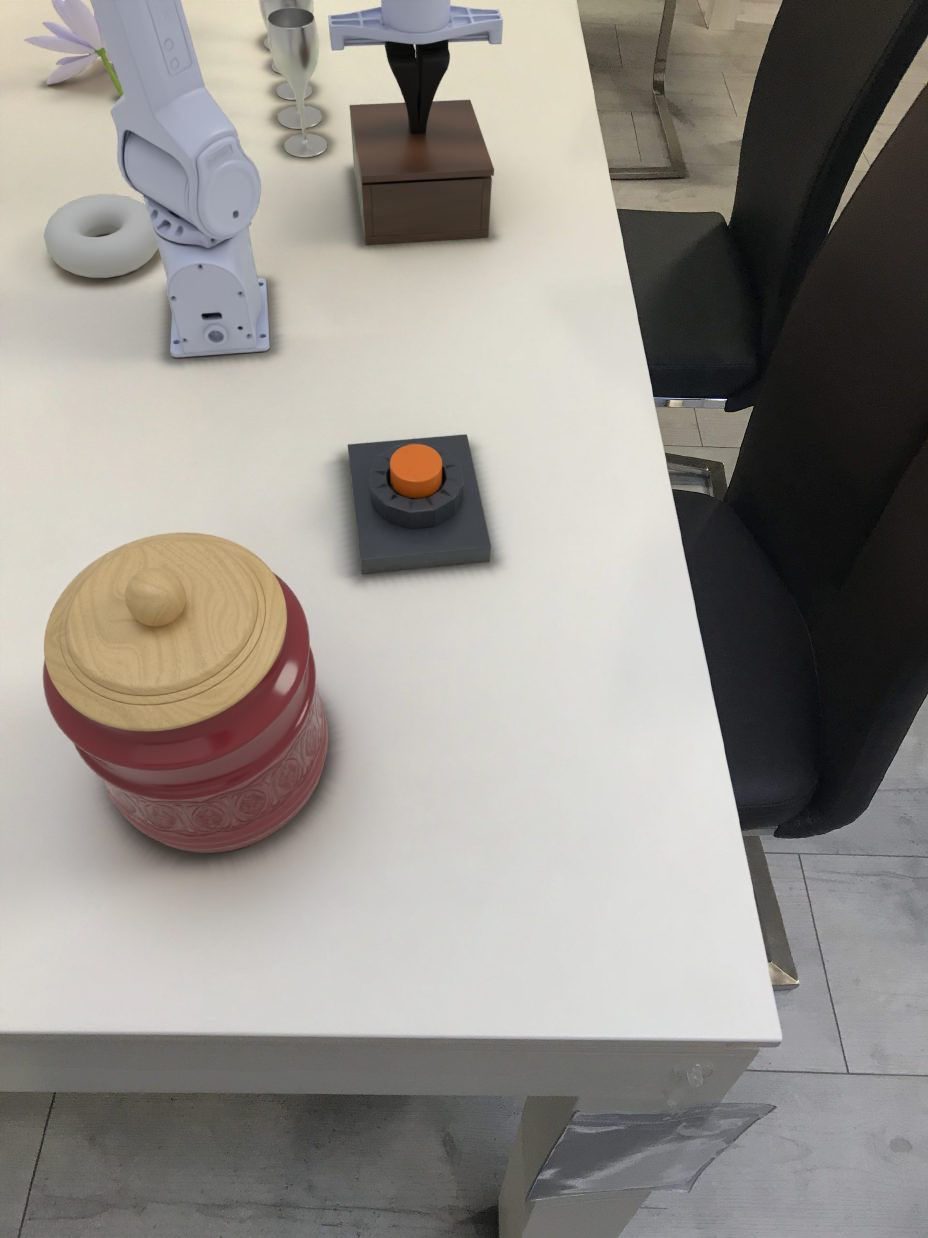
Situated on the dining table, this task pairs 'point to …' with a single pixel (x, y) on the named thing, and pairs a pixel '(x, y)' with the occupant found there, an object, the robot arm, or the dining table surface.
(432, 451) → the button
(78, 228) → the donut
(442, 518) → the control block
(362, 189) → the brown wooden box
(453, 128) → the lid
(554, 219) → the dining table surface
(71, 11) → the water lily
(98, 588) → the kitchen canister
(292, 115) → the goblet set
